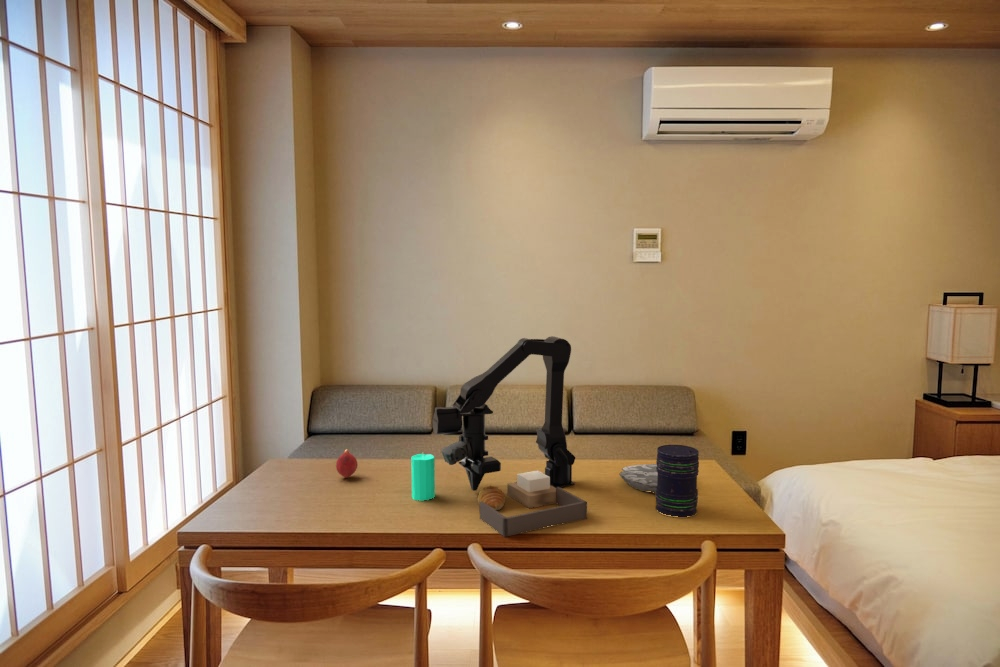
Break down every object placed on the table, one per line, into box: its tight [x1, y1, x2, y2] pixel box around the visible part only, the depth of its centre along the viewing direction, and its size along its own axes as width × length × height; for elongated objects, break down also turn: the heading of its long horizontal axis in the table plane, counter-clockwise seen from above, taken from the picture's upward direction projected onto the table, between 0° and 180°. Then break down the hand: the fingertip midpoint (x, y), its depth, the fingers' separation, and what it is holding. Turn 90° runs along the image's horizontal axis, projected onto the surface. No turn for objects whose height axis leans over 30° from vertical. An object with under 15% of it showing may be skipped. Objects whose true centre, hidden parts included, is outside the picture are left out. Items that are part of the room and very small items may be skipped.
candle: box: [410, 453, 436, 502], centre depth 172 cm, size 6×6×12 cm
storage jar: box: [655, 444, 700, 517], centre depth 163 cm, size 10×10×15 cm
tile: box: [516, 469, 550, 492], centre depth 171 cm, size 6×6×3 cm
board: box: [506, 481, 557, 509], centre depth 172 cm, size 9×11×3 cm
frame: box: [479, 487, 588, 538], centre depth 158 cm, size 22×12×4 cm, turn 118°
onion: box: [335, 449, 358, 479], centre depth 187 cm, size 6×6×8 cm
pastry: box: [477, 485, 506, 511], centre depth 167 cm, size 9×7×4 cm
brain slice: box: [618, 463, 658, 494], centre depth 183 cm, size 20×17×3 cm
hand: (474, 490), depth 176 cm, fingers closed
